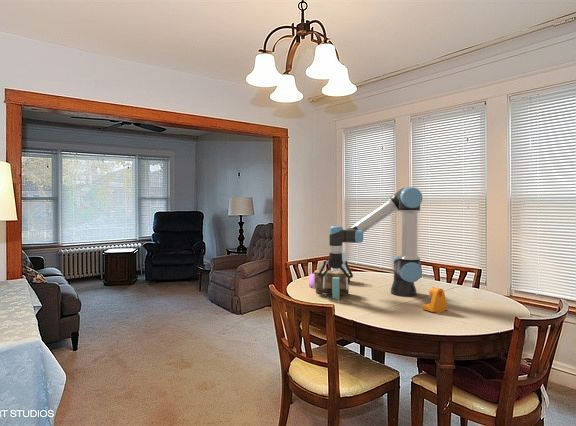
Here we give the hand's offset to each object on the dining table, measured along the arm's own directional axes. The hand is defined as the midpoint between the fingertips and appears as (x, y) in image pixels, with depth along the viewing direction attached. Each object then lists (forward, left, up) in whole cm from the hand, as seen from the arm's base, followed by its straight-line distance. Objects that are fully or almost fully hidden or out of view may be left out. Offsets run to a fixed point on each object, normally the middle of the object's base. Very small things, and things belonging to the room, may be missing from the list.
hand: (335, 288), depth 218 cm
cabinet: (+3, -9, -6) cm, 11 cm away
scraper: (0, -4, -6) cm, 7 cm away
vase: (+2, -48, -6) cm, 49 cm away
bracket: (-53, +14, -6) cm, 55 cm away
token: (+7, -7, -6) cm, 12 cm away
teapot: (+13, -26, -6) cm, 30 cm away
